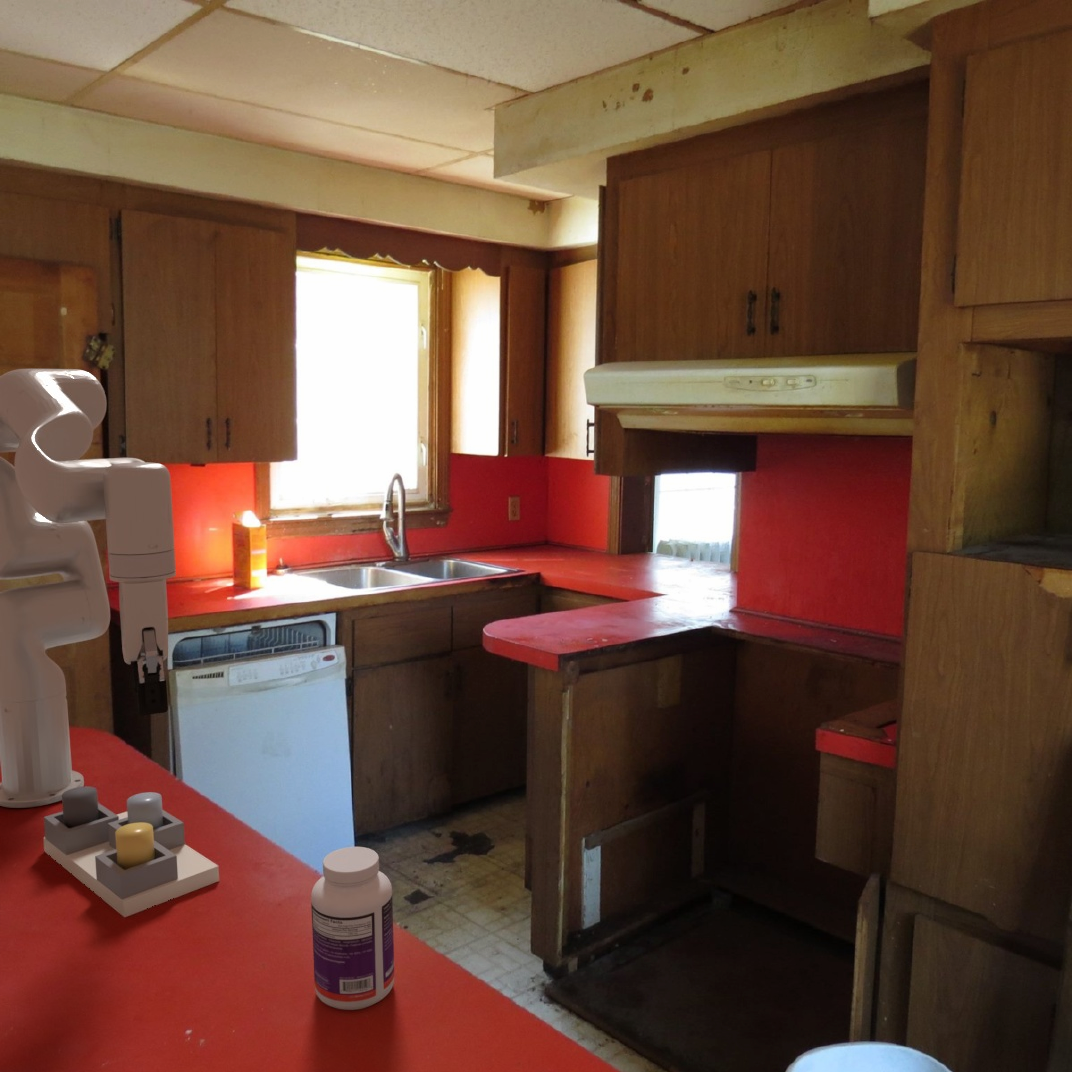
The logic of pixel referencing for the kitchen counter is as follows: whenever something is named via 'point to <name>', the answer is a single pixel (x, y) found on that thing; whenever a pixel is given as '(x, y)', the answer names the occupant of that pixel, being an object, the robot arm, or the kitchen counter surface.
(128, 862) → the mustard button
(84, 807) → the charcoal button
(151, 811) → the slate button
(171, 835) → the console
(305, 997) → the kitchen counter surface
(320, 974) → the pill bottle
